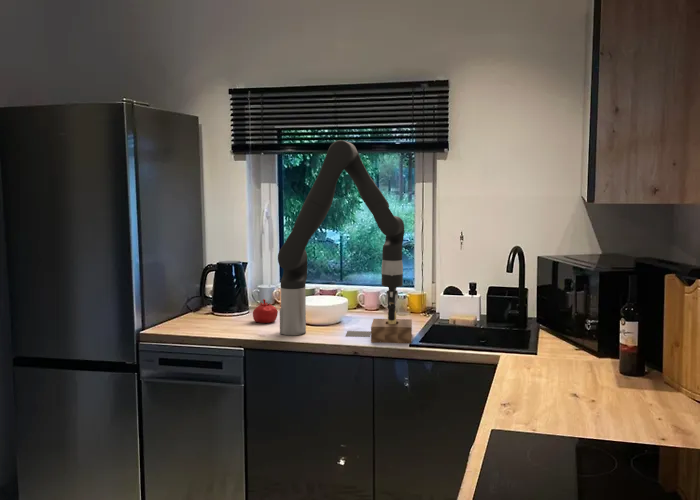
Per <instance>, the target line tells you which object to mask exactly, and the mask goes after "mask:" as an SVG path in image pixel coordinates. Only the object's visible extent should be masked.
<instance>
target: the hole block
mask: <svg viewBox="0 0 700 500" xmlns="http://www.w3.org/2000/svg"><path fill="white" fill-rule="evenodd" d="M412 319H413V318H412ZM412 319H411V318H410V319H409V318H408V319H407V318H396V324H388V318H373V319H372V323H371V325H370V331H371V335H370V343H375V344H377V343H378V344H412V338H413V337H412V335H413V332H412V331H413V329H412V328H413V320H412Z"/></svg>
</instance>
